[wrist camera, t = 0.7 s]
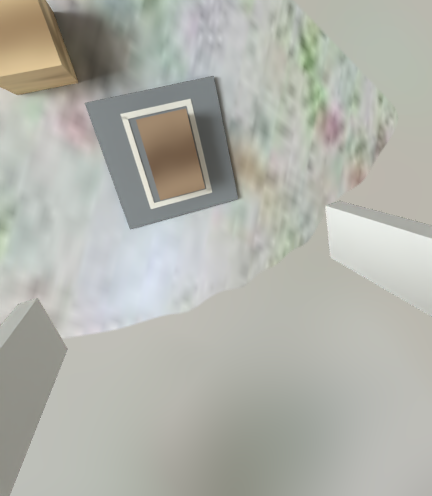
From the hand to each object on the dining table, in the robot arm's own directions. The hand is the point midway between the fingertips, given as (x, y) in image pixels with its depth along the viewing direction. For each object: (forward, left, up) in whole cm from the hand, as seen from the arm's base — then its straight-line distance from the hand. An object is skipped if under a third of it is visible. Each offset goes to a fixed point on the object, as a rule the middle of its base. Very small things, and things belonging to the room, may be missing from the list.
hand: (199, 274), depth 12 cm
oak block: (-17, -8, -23) cm, 30 cm away
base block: (-5, +2, -23) cm, 23 cm away
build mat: (-5, +2, -23) cm, 24 cm away
